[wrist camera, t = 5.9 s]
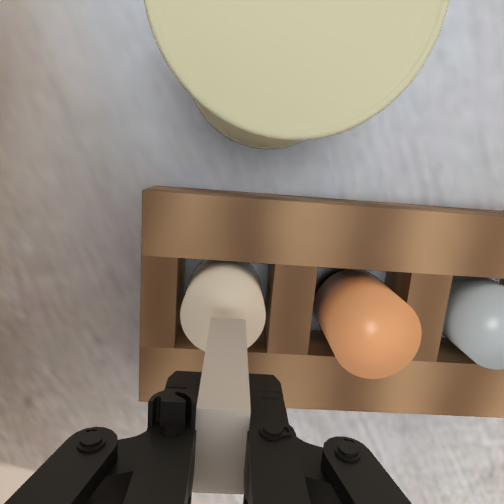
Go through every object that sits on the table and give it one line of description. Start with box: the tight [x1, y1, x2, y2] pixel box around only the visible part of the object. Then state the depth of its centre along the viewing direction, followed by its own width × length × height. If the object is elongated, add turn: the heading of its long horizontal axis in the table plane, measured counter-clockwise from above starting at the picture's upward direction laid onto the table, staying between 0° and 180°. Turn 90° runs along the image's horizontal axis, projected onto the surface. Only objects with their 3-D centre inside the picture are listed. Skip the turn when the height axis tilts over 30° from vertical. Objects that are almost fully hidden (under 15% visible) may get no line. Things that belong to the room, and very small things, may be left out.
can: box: [144, 0, 449, 149], centre depth 17 cm, size 9×9×12 cm
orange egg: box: [314, 269, 422, 379], centre depth 22 cm, size 4×4×5 cm
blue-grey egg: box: [442, 275, 504, 370], centre depth 24 cm, size 4×4×5 cm
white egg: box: [180, 260, 266, 351], centre depth 23 cm, size 4×4×5 cm
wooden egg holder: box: [139, 186, 504, 418], centre depth 25 cm, size 24×12×4 cm, turn 86°
